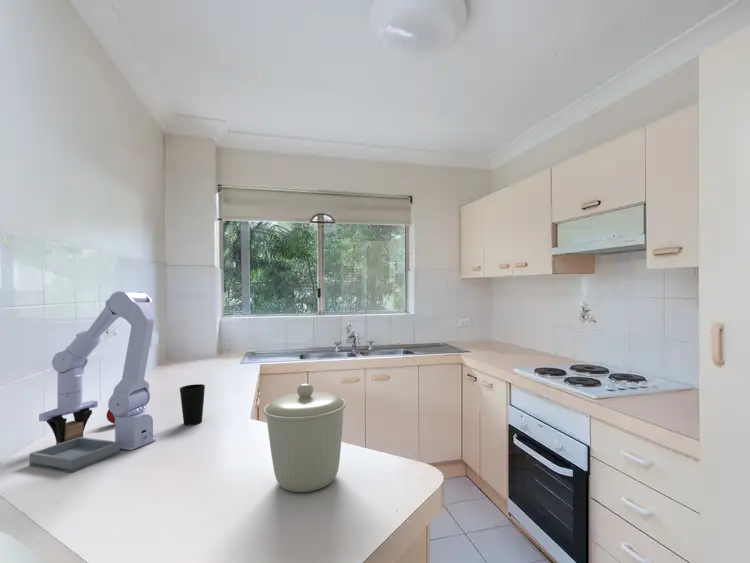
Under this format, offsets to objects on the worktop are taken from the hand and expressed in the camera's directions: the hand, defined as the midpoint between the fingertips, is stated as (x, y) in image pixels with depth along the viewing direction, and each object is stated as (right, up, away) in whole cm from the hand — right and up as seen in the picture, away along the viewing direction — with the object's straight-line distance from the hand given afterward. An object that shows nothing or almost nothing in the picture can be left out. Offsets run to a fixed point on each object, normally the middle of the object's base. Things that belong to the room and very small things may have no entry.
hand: (69, 438), depth 111 cm
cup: (+28, -2, +16) cm, 33 cm away
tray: (+11, -1, -11) cm, 16 cm away
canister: (+75, +2, -28) cm, 80 cm away
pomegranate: (+2, -3, +17) cm, 18 cm away
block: (0, -2, 0) cm, 2 cm away
